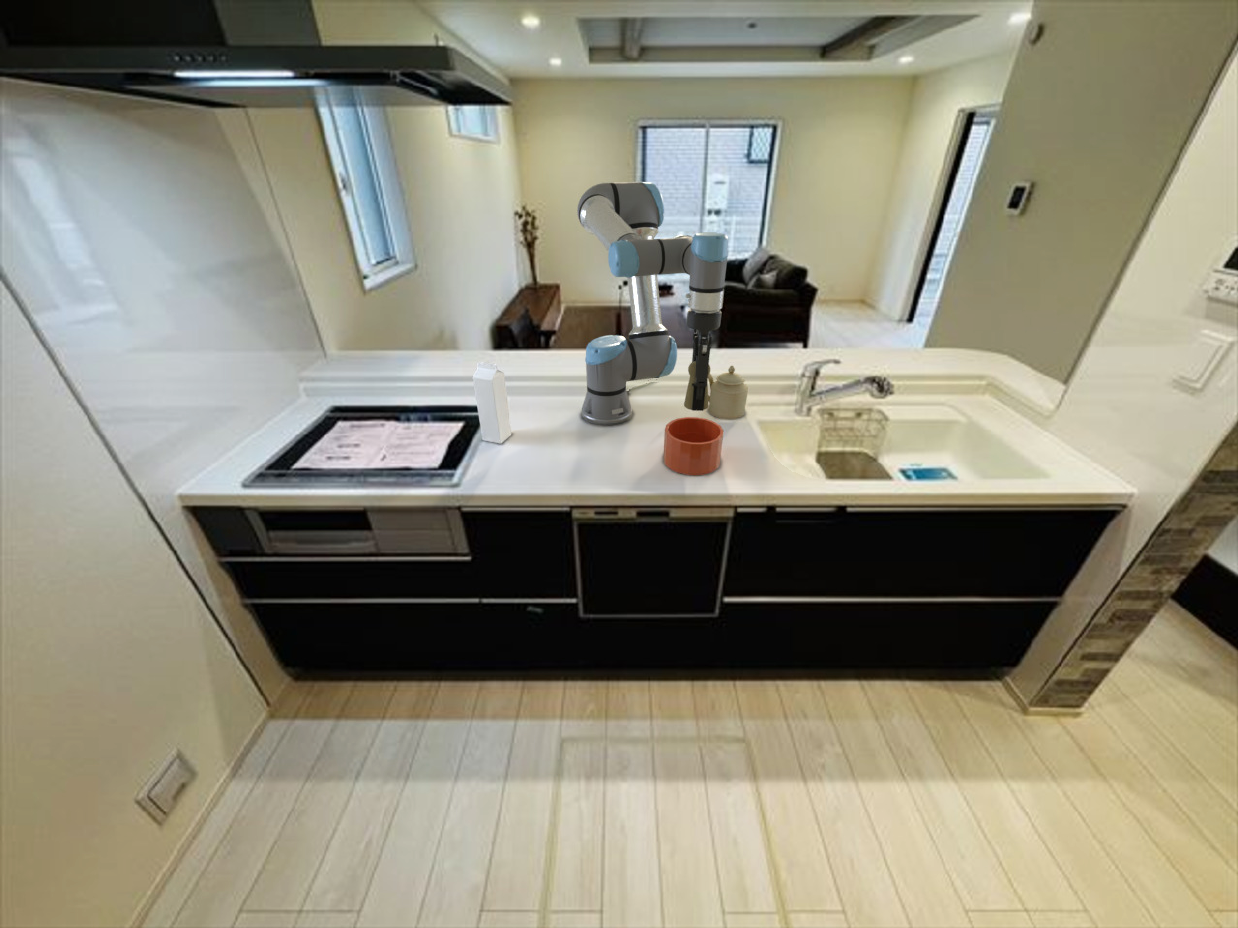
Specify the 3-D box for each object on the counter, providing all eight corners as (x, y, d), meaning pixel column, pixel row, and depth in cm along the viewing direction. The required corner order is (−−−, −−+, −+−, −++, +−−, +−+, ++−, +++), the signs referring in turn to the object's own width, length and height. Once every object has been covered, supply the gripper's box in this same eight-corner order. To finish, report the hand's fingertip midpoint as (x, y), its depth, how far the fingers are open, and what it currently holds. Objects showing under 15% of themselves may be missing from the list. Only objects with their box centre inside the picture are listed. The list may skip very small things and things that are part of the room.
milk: (493, 431, 149) (483, 357, 138) (512, 434, 148) (502, 360, 136) (482, 440, 144) (470, 365, 133) (501, 444, 143) (490, 368, 131)
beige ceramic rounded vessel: (695, 417, 157) (699, 370, 149) (696, 402, 166) (699, 357, 158) (745, 420, 155) (752, 373, 147) (743, 405, 164) (749, 359, 156)
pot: (662, 445, 142) (664, 416, 137) (716, 447, 141) (720, 417, 136) (664, 474, 129) (665, 443, 125) (723, 476, 129) (727, 444, 124)
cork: (707, 411, 124) (712, 368, 118) (682, 409, 125) (685, 366, 119) (709, 401, 129) (713, 359, 123) (685, 399, 130) (688, 357, 124)
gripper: (684, 298, 123) (679, 388, 135) (690, 321, 107) (683, 421, 119) (716, 298, 123) (708, 389, 135) (727, 321, 106) (716, 422, 119)
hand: (696, 404), depth 127 cm, fingers closed on cork, 6 cm apart
